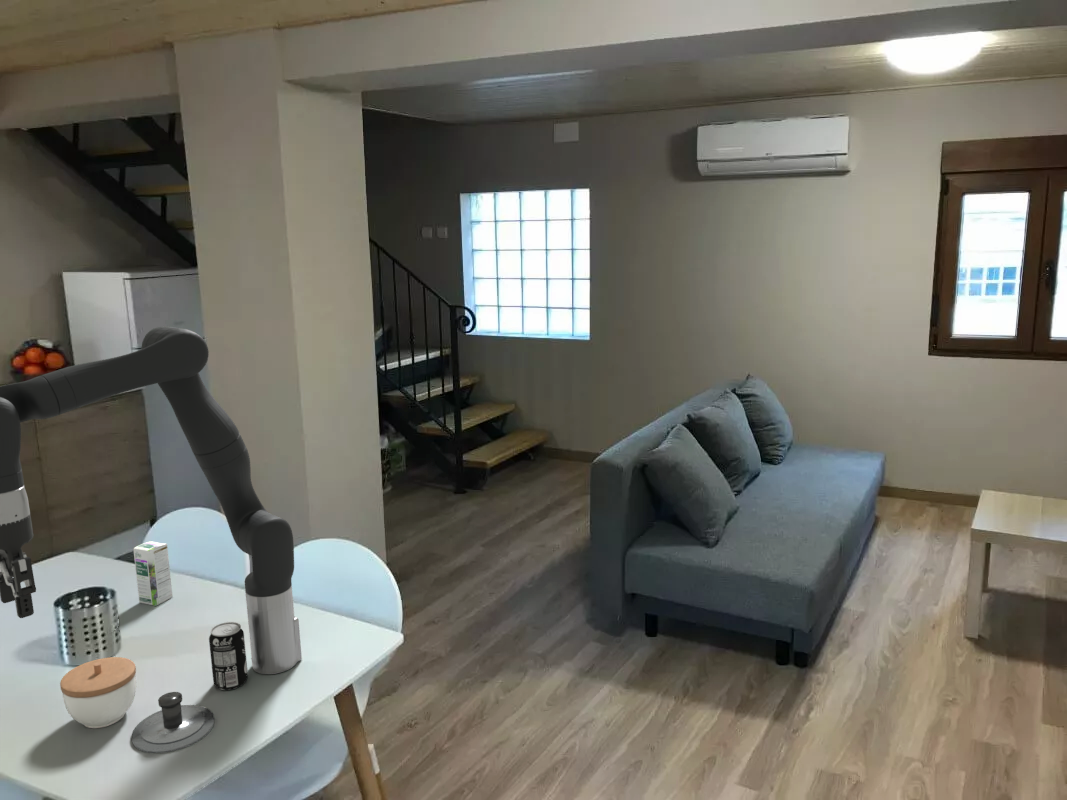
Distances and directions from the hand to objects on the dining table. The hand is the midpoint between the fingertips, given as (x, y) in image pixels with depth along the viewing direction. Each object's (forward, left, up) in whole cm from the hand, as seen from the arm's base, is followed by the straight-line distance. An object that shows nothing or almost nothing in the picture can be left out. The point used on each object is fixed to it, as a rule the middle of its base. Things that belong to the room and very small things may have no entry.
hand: (17, 608), depth 137 cm
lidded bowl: (-13, -7, -30) cm, 33 cm away
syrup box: (-42, -51, -30) cm, 72 cm away
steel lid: (-20, +7, -30) cm, 36 cm away
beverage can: (-35, 0, -30) cm, 46 cm away
